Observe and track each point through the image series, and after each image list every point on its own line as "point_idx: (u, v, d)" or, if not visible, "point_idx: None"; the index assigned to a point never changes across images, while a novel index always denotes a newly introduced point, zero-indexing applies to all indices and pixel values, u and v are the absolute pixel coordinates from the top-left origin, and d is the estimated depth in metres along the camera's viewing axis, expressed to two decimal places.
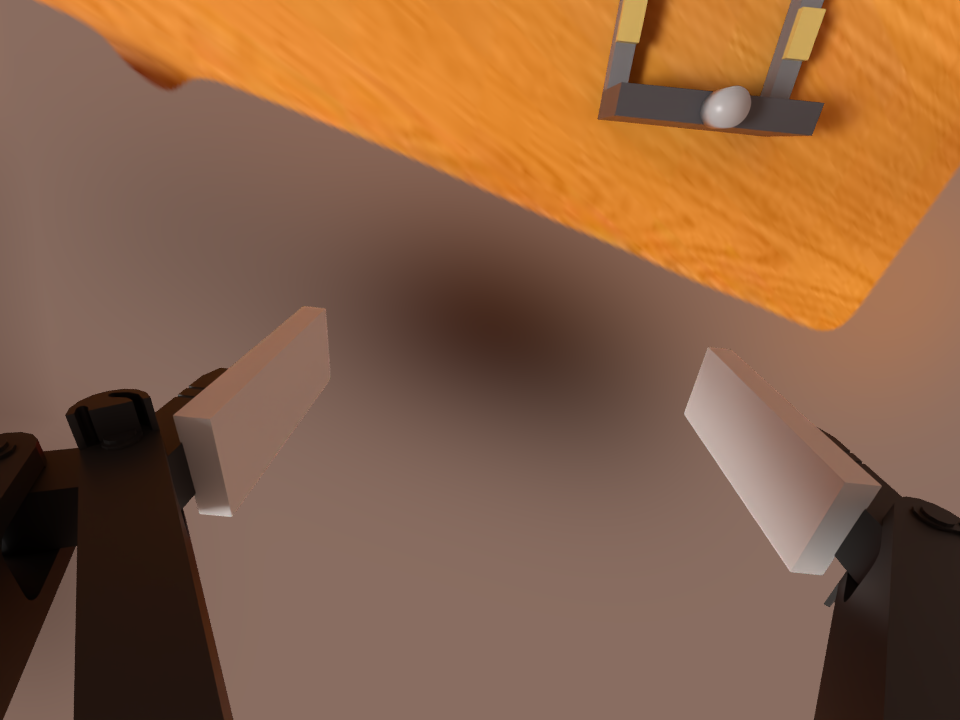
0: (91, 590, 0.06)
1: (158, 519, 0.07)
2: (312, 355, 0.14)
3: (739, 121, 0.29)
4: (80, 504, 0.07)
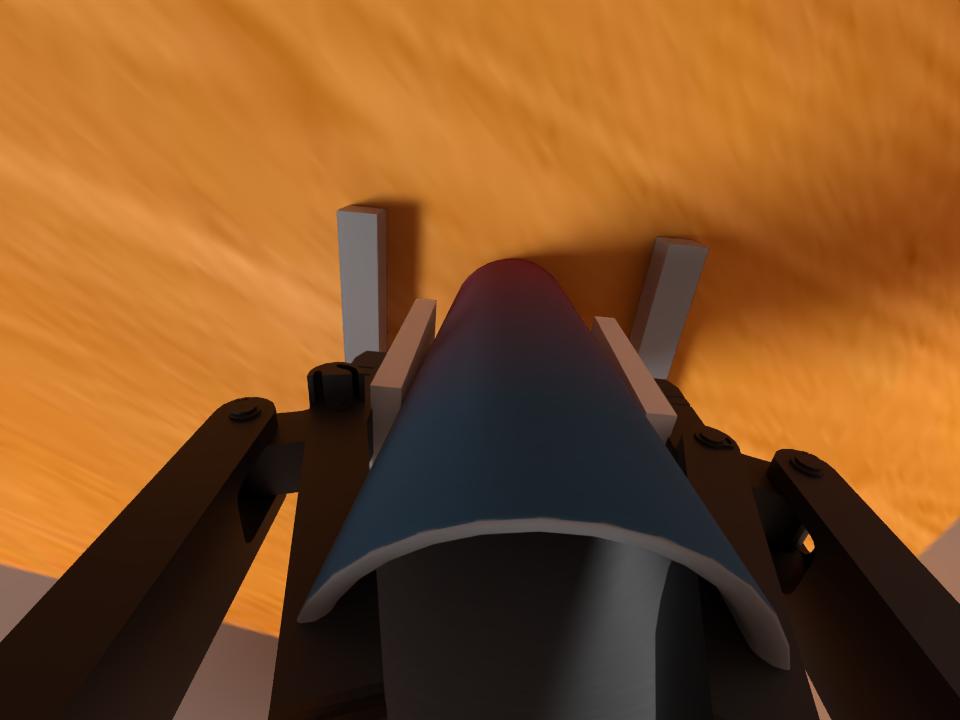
0: (304, 521, 0.07)
1: (356, 477, 0.08)
2: (430, 341, 0.16)
3: None
4: (305, 449, 0.08)
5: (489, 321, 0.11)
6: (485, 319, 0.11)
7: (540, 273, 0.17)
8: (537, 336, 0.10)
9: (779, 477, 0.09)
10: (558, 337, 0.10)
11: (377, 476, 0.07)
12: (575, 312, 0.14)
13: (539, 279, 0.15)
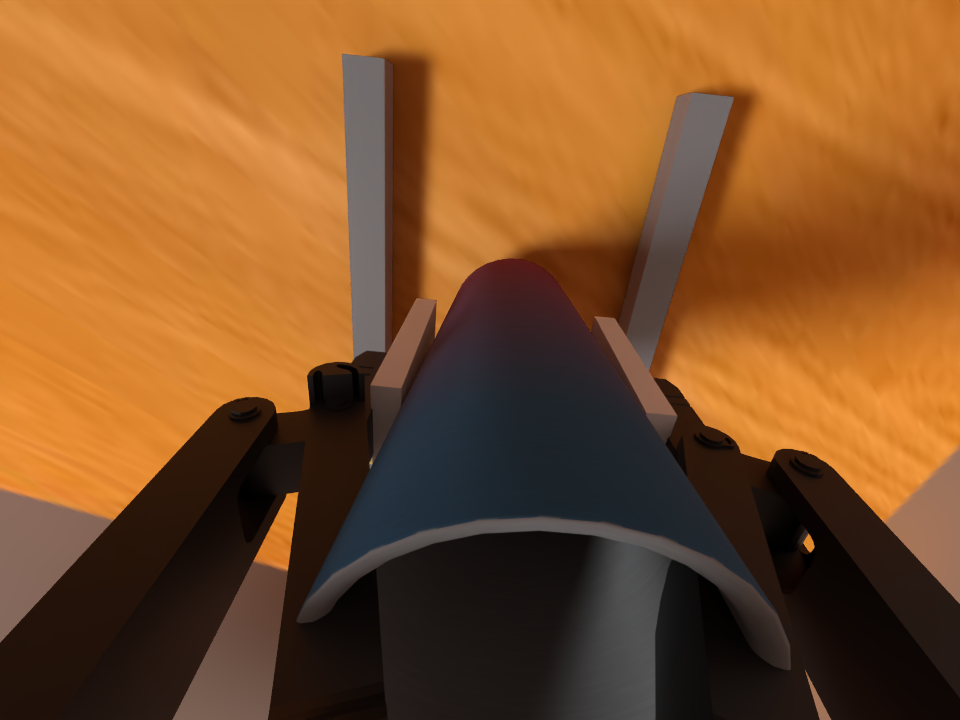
0: (304, 522, 0.07)
1: (356, 477, 0.08)
2: (430, 341, 0.16)
3: None
4: (305, 449, 0.08)
5: (489, 321, 0.11)
6: (485, 319, 0.11)
7: (540, 273, 0.17)
8: (538, 335, 0.10)
9: (779, 477, 0.09)
10: (558, 336, 0.10)
11: (377, 475, 0.07)
12: (575, 312, 0.14)
13: (539, 279, 0.15)
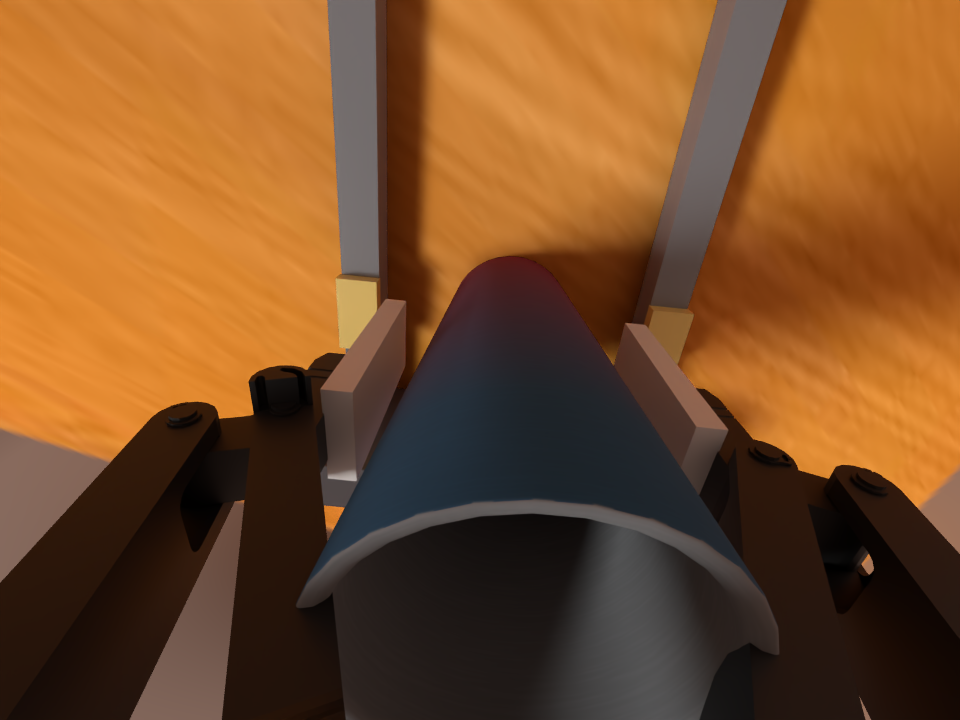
0: (252, 533, 0.07)
1: (305, 483, 0.08)
2: (398, 343, 0.15)
3: None
4: (250, 458, 0.08)
5: (488, 316, 0.11)
6: (484, 314, 0.11)
7: (539, 270, 0.17)
8: (536, 330, 0.10)
9: (838, 493, 0.09)
10: (556, 331, 0.10)
11: (377, 464, 0.07)
12: (573, 308, 0.14)
13: (538, 276, 0.16)
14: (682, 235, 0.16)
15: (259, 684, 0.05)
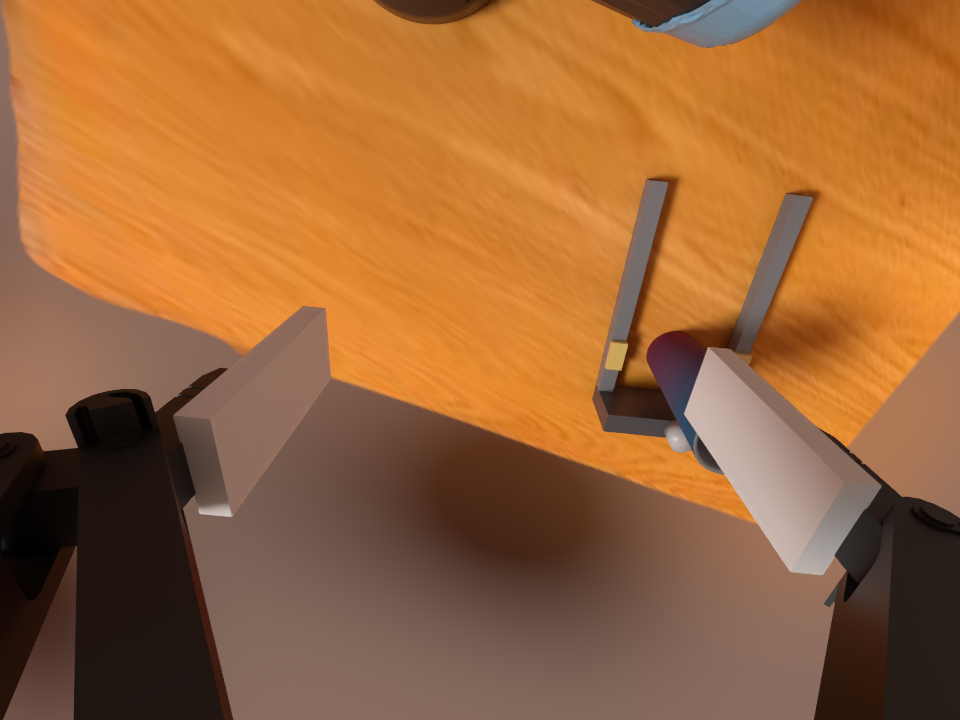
0: (91, 590, 0.06)
1: (157, 519, 0.07)
2: (312, 355, 0.14)
3: (689, 449, 0.42)
4: (80, 504, 0.07)
5: (701, 363, 0.38)
6: (698, 363, 0.38)
7: (692, 339, 0.43)
8: None
9: None
10: None
11: None
12: None
13: (697, 343, 0.42)
14: (749, 327, 0.43)
15: None
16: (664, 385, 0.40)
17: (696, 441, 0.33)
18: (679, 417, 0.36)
